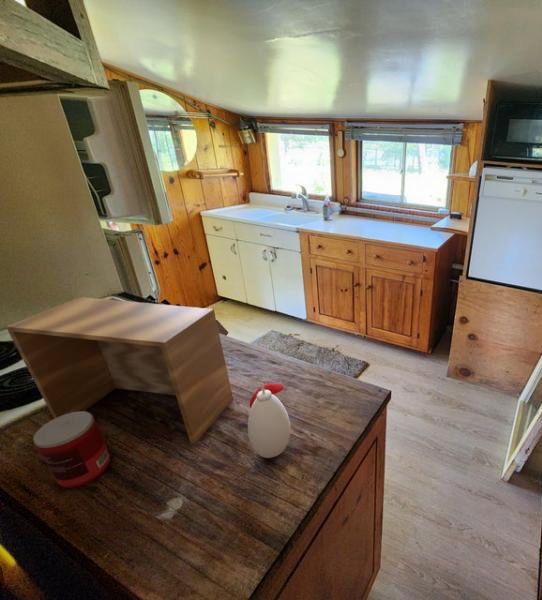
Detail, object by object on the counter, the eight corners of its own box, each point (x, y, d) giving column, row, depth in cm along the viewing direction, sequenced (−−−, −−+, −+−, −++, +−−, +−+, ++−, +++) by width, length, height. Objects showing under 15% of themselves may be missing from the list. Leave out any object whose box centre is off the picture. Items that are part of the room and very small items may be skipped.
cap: (260, 423, 74) (256, 402, 72) (246, 410, 77) (242, 390, 75) (290, 404, 80) (287, 384, 78) (276, 393, 83) (273, 374, 81)
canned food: (106, 446, 67) (87, 404, 62) (117, 468, 62) (97, 426, 58) (54, 471, 61) (29, 427, 57) (62, 497, 57) (35, 453, 52)
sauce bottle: (253, 442, 69) (240, 373, 62) (291, 433, 72) (283, 366, 64) (252, 473, 63) (237, 400, 55) (294, 462, 65) (285, 391, 58)
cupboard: (57, 426, 71) (5, 326, 61) (115, 385, 84) (80, 296, 73) (195, 444, 68) (164, 342, 58) (233, 398, 81) (213, 309, 71)
